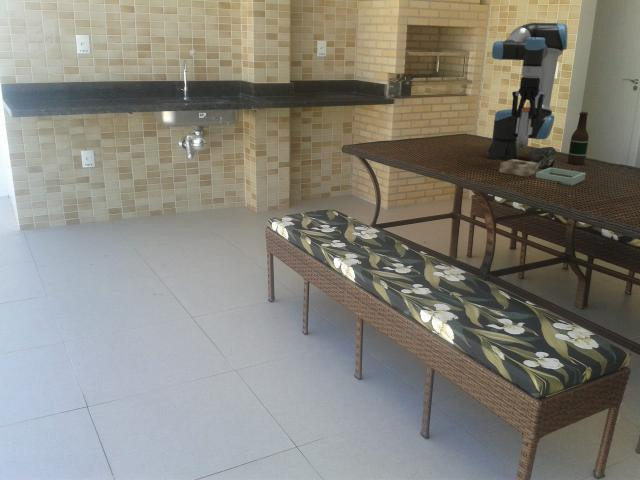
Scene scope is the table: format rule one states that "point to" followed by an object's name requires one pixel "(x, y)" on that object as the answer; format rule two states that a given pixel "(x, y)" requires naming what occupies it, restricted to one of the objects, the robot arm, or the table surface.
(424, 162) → the table surface
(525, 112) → the pin
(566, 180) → the tray
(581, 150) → the beer bottle
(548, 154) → the rock
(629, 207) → the table surface
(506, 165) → the block
